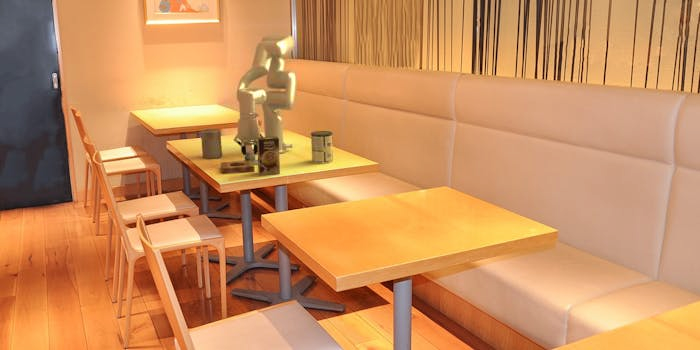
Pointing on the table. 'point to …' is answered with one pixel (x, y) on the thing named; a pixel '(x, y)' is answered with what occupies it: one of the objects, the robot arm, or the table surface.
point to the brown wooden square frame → (237, 167)
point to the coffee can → (322, 147)
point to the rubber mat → (254, 162)
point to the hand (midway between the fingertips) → (249, 153)
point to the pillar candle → (211, 143)
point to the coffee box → (268, 155)
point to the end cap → (249, 150)
